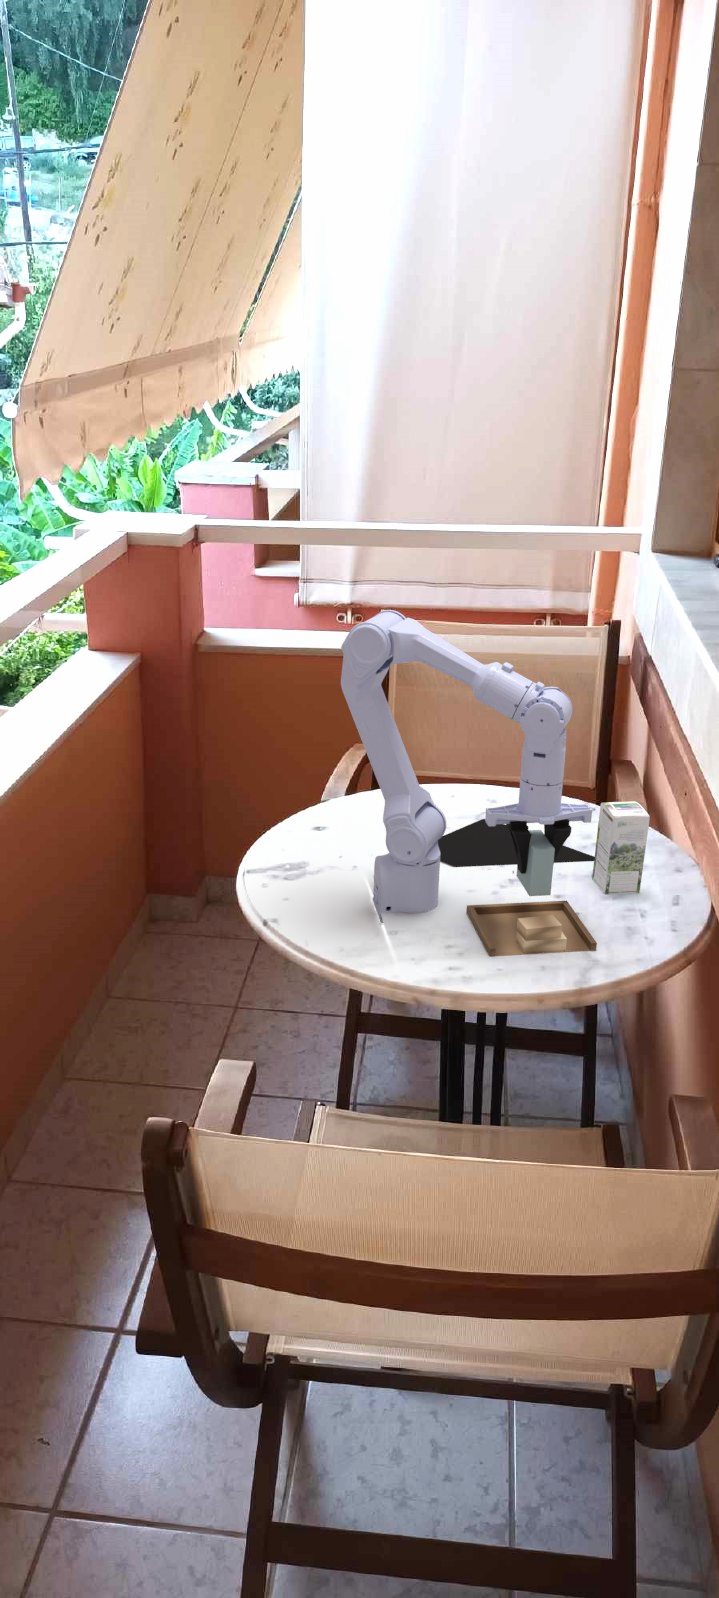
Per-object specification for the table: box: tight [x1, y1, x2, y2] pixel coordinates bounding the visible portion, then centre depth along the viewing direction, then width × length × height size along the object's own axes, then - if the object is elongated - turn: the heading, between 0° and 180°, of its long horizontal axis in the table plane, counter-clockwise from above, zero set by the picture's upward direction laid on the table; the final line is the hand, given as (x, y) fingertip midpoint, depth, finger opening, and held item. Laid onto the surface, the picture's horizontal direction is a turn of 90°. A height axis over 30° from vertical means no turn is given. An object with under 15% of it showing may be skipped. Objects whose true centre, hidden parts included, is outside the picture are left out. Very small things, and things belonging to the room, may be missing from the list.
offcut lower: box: [516, 931, 567, 953], centre depth 157 cm, size 6×3×2 cm, turn 99°
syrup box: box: [591, 801, 651, 895], centre depth 173 cm, size 6×6×14 cm
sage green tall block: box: [516, 829, 555, 897], centre depth 159 cm, size 3×6×7 cm, turn 8°
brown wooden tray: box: [466, 900, 598, 957], centre depth 161 cm, size 15×13×3 cm
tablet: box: [438, 818, 595, 868], centre depth 188 cm, size 27×1×20 cm
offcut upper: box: [517, 915, 562, 941], centre depth 156 cm, size 5×3×2 cm, turn 105°
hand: (534, 870), depth 160 cm, fingers closed on sage green tall block, 3 cm apart
